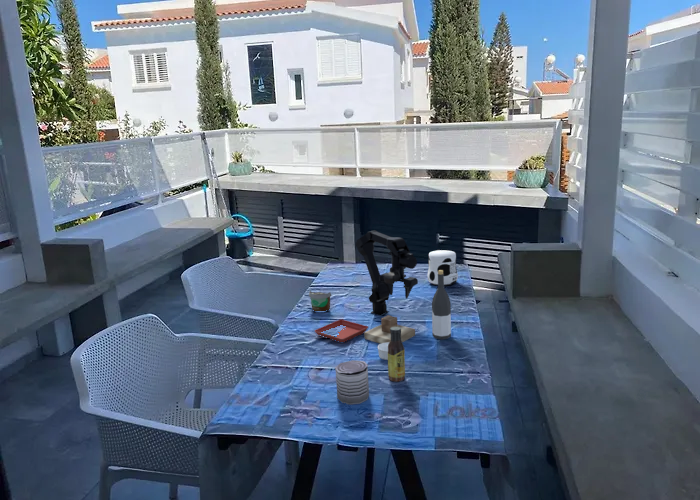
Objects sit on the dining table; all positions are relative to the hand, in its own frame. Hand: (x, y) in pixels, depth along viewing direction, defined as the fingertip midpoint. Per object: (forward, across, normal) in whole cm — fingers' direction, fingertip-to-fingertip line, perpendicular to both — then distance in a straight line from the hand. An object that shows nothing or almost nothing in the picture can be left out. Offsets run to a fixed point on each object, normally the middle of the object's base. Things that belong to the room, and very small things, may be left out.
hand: (398, 296), depth 261 cm
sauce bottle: (+12, +36, -49) cm, 62 cm away
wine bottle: (+12, +27, -5) cm, 30 cm away
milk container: (+12, -16, +62) cm, 65 cm away
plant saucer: (+13, -11, -29) cm, 33 cm away
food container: (+12, -42, -13) cm, 46 cm away
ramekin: (+12, +21, -35) cm, 43 cm away
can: (+12, +32, -69) cm, 77 cm away
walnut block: (+9, +9, -19) cm, 23 cm away
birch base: (+12, +9, -19) cm, 24 cm away
